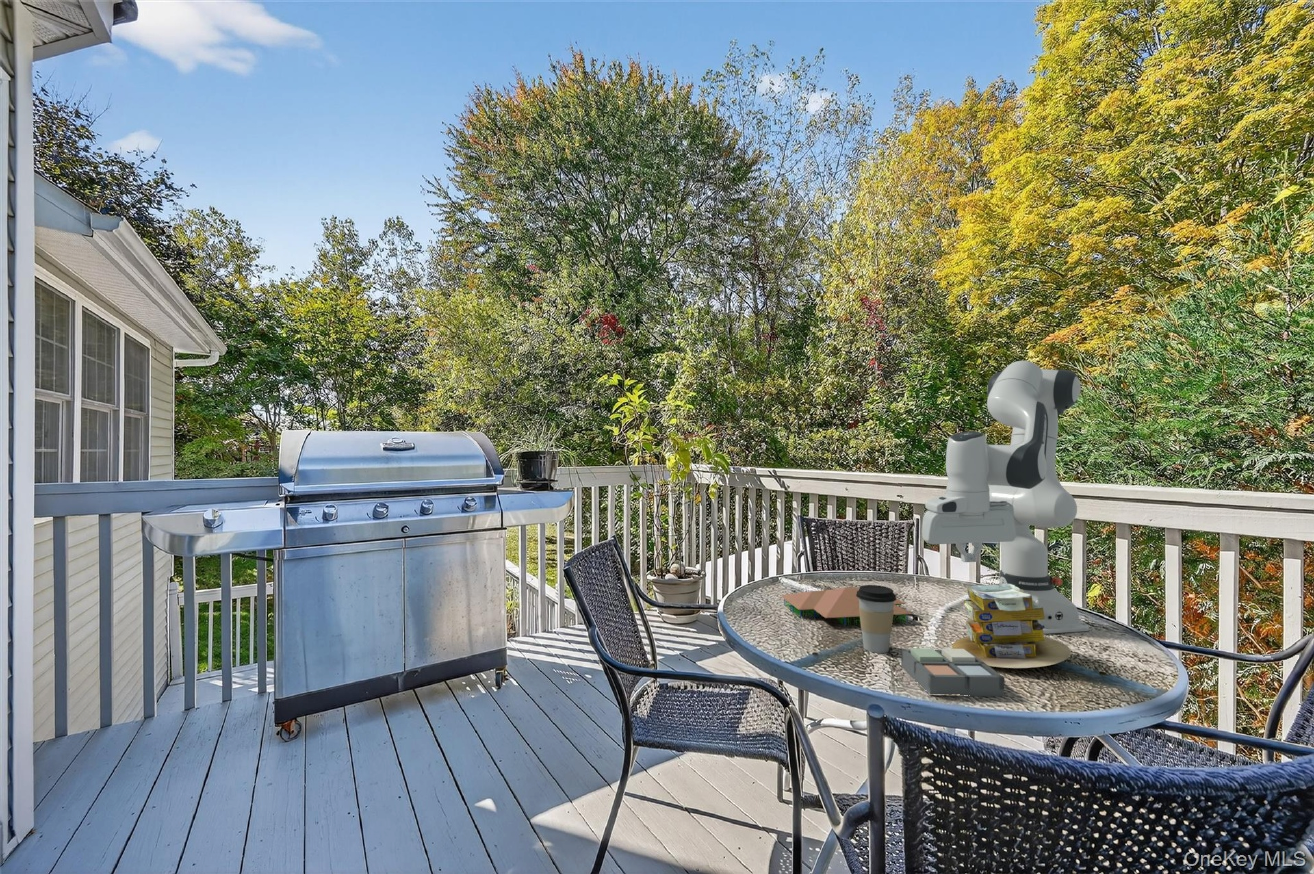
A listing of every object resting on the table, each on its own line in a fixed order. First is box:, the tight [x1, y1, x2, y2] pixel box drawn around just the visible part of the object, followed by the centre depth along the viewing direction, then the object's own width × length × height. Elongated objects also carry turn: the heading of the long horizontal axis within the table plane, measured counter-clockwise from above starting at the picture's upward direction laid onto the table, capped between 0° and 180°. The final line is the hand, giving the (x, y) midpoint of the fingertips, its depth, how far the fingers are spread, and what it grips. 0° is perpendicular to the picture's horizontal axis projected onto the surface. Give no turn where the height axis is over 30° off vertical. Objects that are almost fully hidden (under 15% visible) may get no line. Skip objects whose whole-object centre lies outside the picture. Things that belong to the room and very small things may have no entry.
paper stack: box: [951, 583, 1072, 669], centre depth 141 cm, size 25×25×17 cm
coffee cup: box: [856, 584, 897, 654], centre depth 146 cm, size 9×9×15 cm
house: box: [780, 586, 913, 627], centre depth 174 cm, size 23×33×8 cm
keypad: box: [900, 648, 1005, 697], centre depth 127 cm, size 15×15×4 cm
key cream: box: [941, 648, 975, 662], centre depth 131 cm, size 5×5×2 cm
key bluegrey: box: [957, 666, 991, 675], centre depth 124 cm, size 5×5×2 cm
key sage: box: [910, 647, 943, 662], centre depth 131 cm, size 5×5×2 cm
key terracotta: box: [924, 665, 958, 675], centre depth 124 cm, size 5×5×2 cm
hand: (969, 561), depth 135 cm, fingers closed
